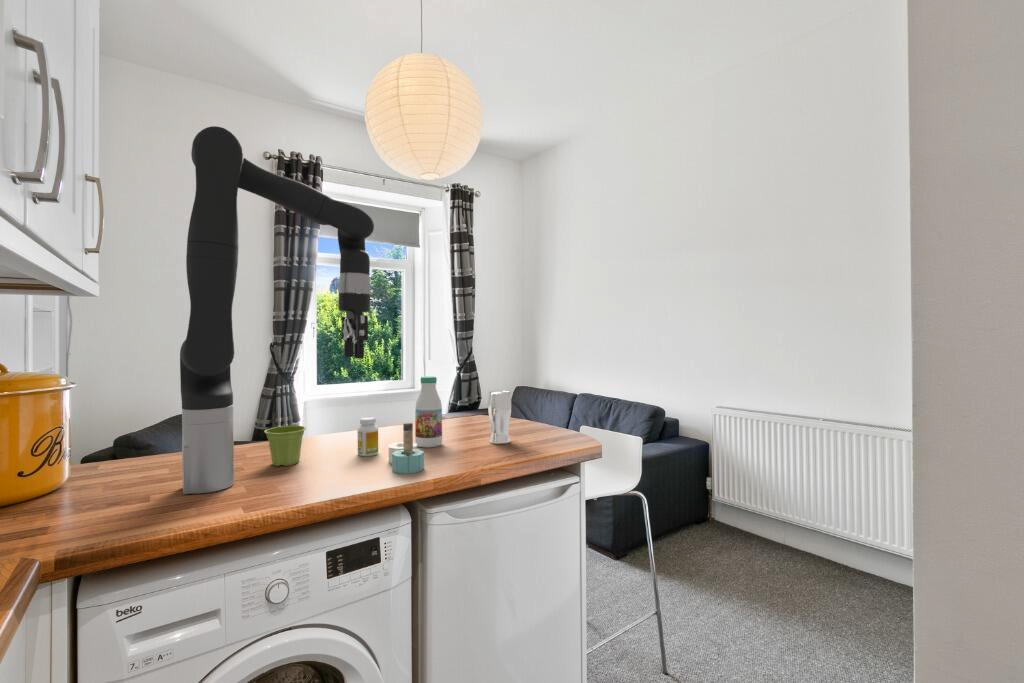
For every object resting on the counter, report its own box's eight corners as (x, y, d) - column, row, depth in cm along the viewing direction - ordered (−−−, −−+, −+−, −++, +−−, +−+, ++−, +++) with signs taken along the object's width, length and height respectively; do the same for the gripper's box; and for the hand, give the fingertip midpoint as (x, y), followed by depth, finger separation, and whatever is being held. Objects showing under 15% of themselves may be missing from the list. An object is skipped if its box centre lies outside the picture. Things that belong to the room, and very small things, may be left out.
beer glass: (515, 441, 146) (515, 391, 145) (503, 445, 140) (503, 394, 140) (496, 438, 149) (496, 390, 149) (483, 442, 144) (483, 392, 143)
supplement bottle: (381, 451, 133) (381, 416, 133) (373, 456, 128) (373, 420, 127) (362, 451, 134) (362, 416, 133) (354, 456, 128) (354, 420, 128)
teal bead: (400, 475, 111) (399, 458, 111) (388, 468, 117) (388, 451, 117) (427, 470, 115) (427, 453, 115) (415, 463, 121) (415, 447, 121)
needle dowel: (405, 470, 115) (405, 424, 114) (402, 468, 116) (401, 423, 116) (414, 469, 116) (414, 423, 116) (410, 467, 118) (410, 422, 117)
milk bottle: (414, 443, 144) (413, 376, 143) (439, 441, 146) (439, 375, 145) (417, 449, 136) (416, 378, 136) (444, 447, 138) (443, 377, 138)
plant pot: (276, 470, 115) (276, 434, 115) (257, 464, 121) (257, 429, 120) (313, 462, 122) (312, 428, 122) (293, 456, 128) (293, 424, 128)
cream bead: (403, 465, 119) (402, 449, 119) (383, 461, 123) (382, 446, 122) (422, 459, 125) (422, 444, 125) (402, 455, 128) (402, 440, 128)
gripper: (331, 293, 124) (330, 356, 124) (347, 289, 112) (346, 359, 112) (361, 295, 128) (360, 356, 128) (378, 291, 116) (377, 358, 116)
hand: (353, 357), depth 120 cm, fingers open, 8 cm apart
